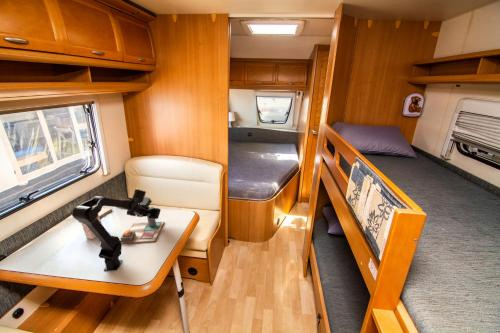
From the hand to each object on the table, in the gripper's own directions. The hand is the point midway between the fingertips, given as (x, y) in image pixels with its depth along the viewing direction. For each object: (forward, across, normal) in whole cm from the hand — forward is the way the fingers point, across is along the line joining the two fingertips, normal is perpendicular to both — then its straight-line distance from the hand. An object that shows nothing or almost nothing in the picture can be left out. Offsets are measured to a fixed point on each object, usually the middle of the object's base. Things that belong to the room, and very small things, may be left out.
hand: (152, 215), depth 145 cm
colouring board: (+1, +2, +11) cm, 11 cm away
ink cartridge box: (-4, +31, +17) cm, 36 cm away
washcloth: (+8, +49, +5) cm, 50 cm away
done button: (-7, +7, +15) cm, 18 cm away
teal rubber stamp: (+4, 0, +6) cm, 7 cm away
